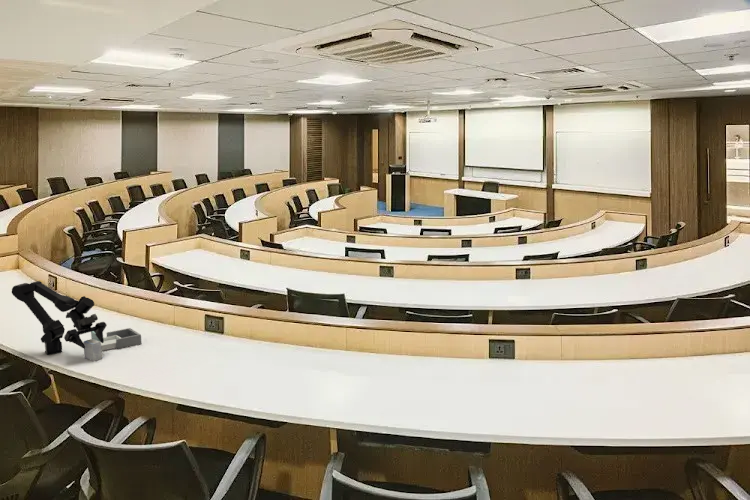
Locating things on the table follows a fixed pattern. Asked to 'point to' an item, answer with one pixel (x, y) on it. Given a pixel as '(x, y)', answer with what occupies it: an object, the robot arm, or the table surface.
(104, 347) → the tray
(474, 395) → the table surface
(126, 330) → the dock
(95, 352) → the medicine box
